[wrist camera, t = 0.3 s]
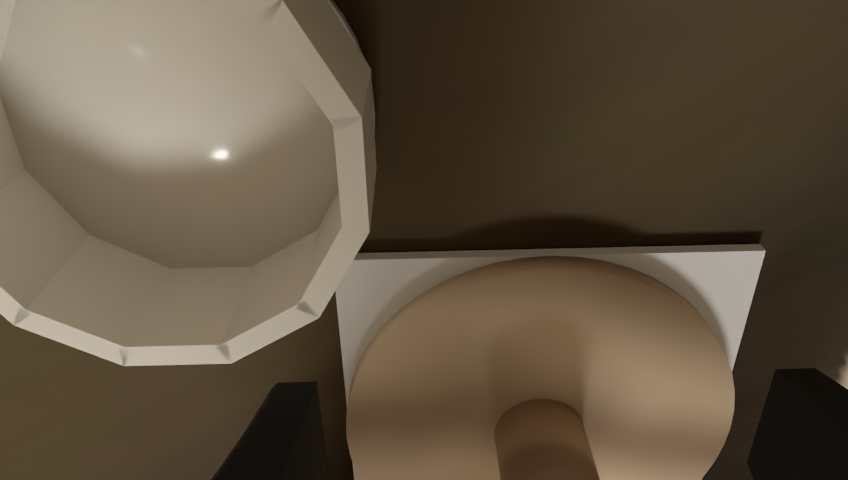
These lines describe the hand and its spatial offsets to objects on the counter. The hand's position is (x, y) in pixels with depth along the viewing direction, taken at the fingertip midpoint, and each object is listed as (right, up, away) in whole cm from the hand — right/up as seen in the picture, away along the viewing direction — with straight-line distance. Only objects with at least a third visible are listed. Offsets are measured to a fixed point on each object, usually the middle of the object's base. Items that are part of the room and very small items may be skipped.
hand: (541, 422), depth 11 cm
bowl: (-8, +6, +7) cm, 13 cm away
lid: (+2, -3, +13) cm, 13 cm away
